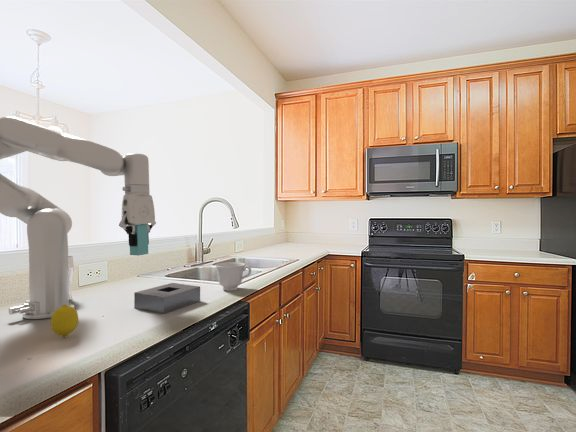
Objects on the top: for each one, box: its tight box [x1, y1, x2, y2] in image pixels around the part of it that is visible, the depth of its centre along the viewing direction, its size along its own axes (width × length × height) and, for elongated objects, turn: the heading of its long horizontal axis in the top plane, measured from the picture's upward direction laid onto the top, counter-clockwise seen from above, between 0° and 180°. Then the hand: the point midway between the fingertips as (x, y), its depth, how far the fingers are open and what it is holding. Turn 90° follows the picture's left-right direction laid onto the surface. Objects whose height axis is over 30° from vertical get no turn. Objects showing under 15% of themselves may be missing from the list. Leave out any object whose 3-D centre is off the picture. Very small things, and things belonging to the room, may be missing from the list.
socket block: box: [133, 282, 201, 315], centre depth 107 cm, size 16×13×5 cm
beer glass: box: [68, 255, 75, 302], centre depth 111 cm, size 7×7×15 cm
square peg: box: [129, 225, 149, 257], centre depth 108 cm, size 4×4×10 cm
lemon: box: [50, 305, 79, 338], centre depth 78 cm, size 6×6×8 cm
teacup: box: [214, 261, 252, 292], centre depth 128 cm, size 12×15×10 cm
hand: (139, 244), depth 108 cm, fingers closed on square peg, 4 cm apart
